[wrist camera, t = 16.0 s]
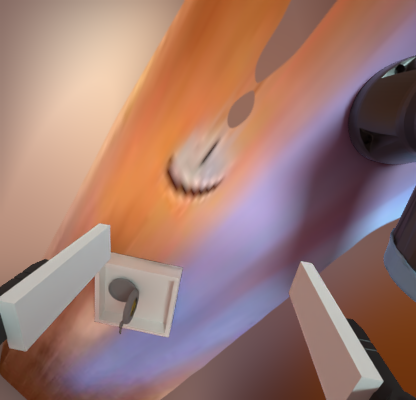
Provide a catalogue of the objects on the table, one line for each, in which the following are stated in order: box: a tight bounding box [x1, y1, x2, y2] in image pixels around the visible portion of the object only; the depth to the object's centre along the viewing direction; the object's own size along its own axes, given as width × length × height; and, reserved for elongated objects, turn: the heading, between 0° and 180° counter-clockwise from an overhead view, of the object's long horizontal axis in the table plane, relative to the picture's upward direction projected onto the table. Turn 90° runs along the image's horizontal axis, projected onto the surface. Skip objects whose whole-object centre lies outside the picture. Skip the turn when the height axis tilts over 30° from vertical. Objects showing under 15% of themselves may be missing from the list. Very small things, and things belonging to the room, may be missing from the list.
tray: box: [95, 252, 183, 337], centre depth 47 cm, size 18×18×4 cm
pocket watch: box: [108, 278, 139, 334], centre depth 43 cm, size 8×8×10 cm
